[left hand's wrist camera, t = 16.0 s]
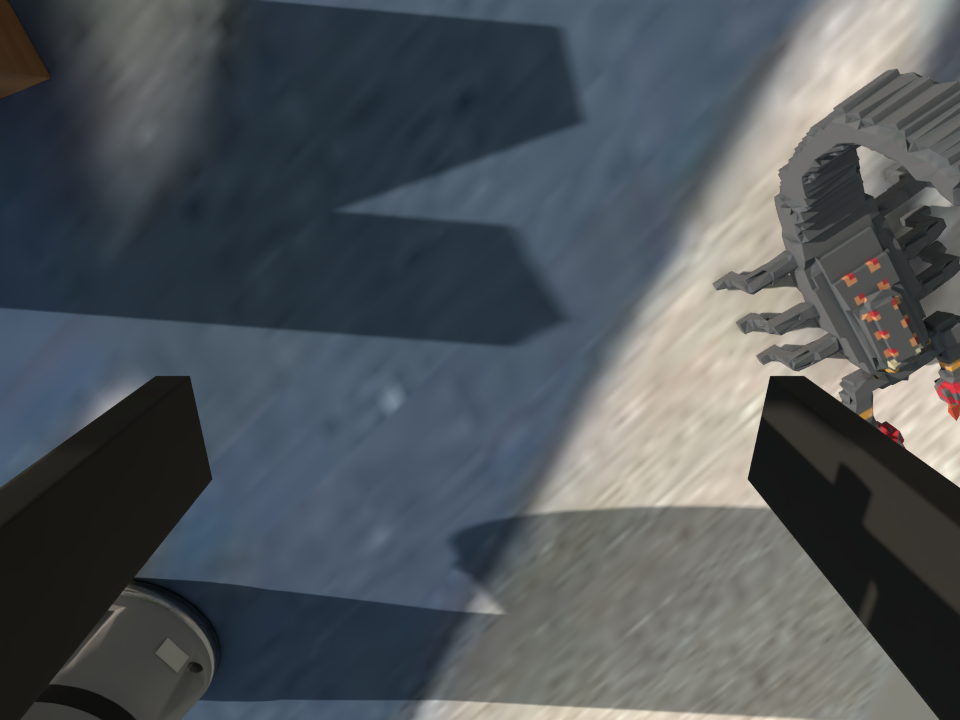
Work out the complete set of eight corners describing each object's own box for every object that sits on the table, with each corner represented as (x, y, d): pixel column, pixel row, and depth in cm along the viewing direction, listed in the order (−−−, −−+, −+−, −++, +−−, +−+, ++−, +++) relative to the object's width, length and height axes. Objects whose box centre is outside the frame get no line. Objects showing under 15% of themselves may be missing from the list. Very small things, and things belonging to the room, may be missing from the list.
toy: (844, 27, 32) (1269, -108, 15) (990, 365, 40) (1376, 532, 22) (645, 173, 35) (806, 202, 18) (819, 459, 42) (1045, 670, 26)
